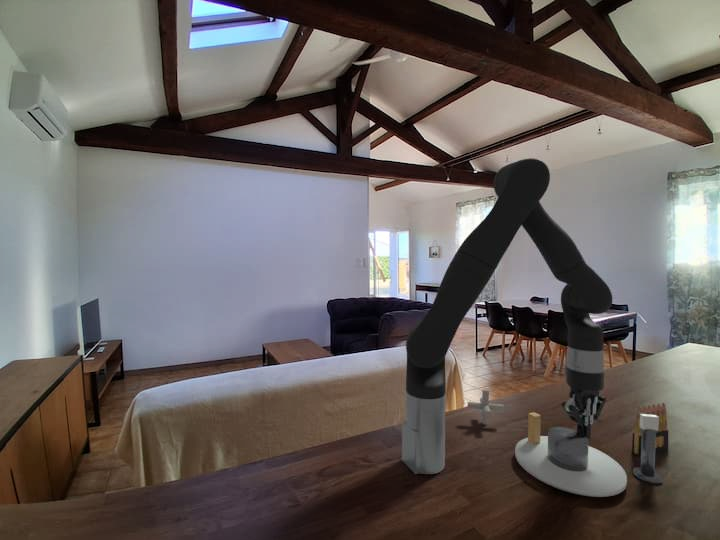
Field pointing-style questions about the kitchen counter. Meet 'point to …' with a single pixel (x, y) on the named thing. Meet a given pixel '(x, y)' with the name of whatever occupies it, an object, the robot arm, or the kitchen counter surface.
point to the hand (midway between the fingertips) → (583, 438)
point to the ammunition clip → (660, 434)
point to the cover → (568, 449)
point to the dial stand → (648, 450)
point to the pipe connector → (485, 406)
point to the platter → (594, 481)
